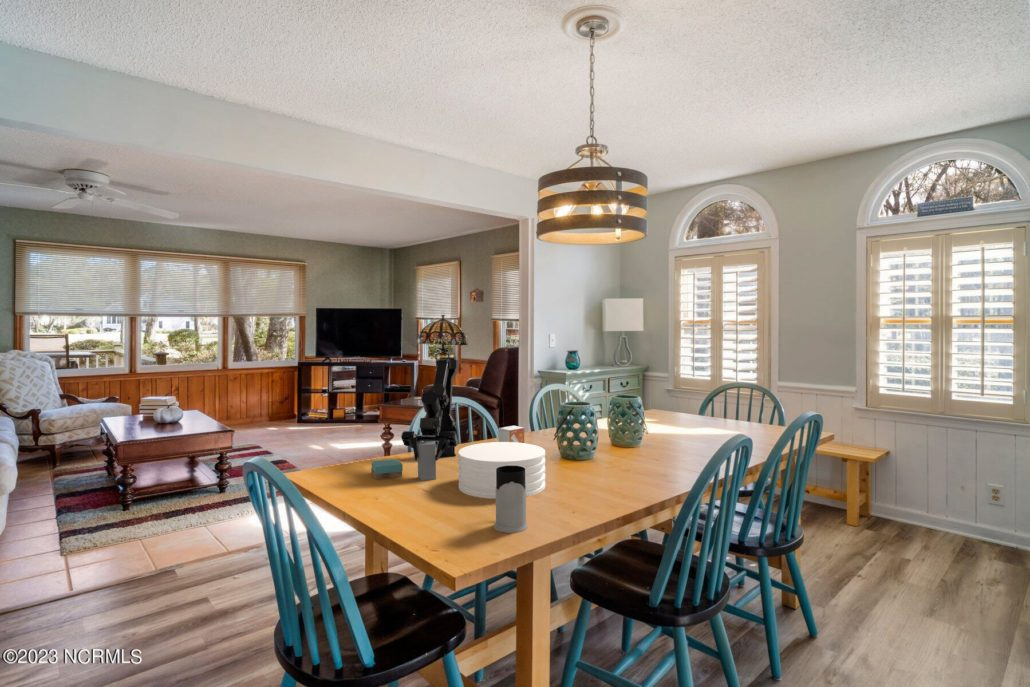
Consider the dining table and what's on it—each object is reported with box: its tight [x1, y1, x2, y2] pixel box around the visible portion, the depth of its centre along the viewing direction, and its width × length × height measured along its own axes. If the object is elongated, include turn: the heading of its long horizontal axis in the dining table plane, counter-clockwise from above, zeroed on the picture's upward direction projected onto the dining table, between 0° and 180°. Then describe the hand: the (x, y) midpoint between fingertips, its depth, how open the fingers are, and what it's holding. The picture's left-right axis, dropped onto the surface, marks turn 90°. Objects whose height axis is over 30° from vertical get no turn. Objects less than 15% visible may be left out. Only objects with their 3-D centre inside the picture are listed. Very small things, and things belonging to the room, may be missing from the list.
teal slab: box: [371, 458, 404, 474], centre depth 198 cm, size 9×9×2 cm
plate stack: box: [457, 441, 546, 500], centre depth 184 cm, size 28×28×12 cm
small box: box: [497, 425, 525, 443], centre depth 216 cm, size 8×6×13 cm
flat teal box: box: [370, 467, 403, 480], centre depth 198 cm, size 9×9×2 cm
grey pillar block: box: [417, 441, 437, 482], centre depth 193 cm, size 5×5×12 cm
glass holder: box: [493, 466, 529, 534], centre depth 150 cm, size 9×14×15 cm, turn 5°
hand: (425, 460), depth 192 cm, fingers closed on grey pillar block, 7 cm apart
